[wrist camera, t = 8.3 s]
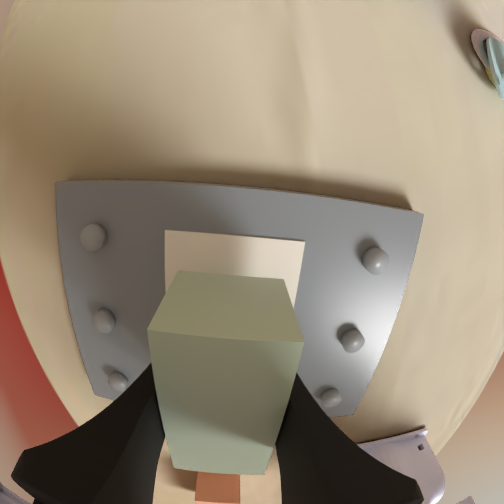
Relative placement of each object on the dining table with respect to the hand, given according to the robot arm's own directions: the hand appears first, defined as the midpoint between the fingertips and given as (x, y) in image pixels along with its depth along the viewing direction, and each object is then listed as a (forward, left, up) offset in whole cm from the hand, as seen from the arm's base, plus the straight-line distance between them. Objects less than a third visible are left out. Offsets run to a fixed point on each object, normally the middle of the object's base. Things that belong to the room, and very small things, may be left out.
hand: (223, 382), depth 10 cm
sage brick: (0, 0, -2) cm, 2 cm away
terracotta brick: (0, +22, -5) cm, 22 cm away
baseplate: (0, 0, -4) cm, 4 cm away
